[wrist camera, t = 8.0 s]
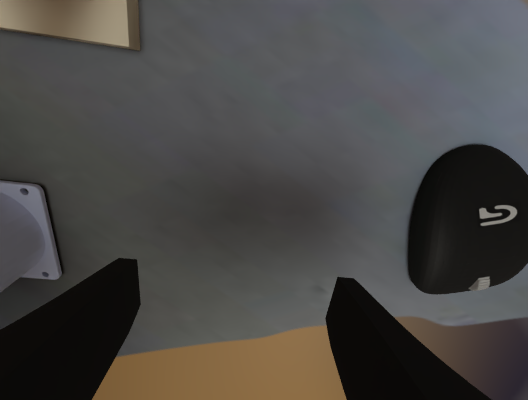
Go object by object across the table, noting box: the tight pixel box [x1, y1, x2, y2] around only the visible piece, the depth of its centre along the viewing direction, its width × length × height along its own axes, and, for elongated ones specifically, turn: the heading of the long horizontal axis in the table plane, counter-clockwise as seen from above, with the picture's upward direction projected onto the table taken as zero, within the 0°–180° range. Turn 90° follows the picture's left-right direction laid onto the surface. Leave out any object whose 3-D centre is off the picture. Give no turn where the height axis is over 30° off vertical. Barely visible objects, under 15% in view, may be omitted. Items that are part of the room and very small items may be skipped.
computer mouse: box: [409, 145, 528, 294], centre depth 18 cm, size 8×12×4 cm, turn 10°
